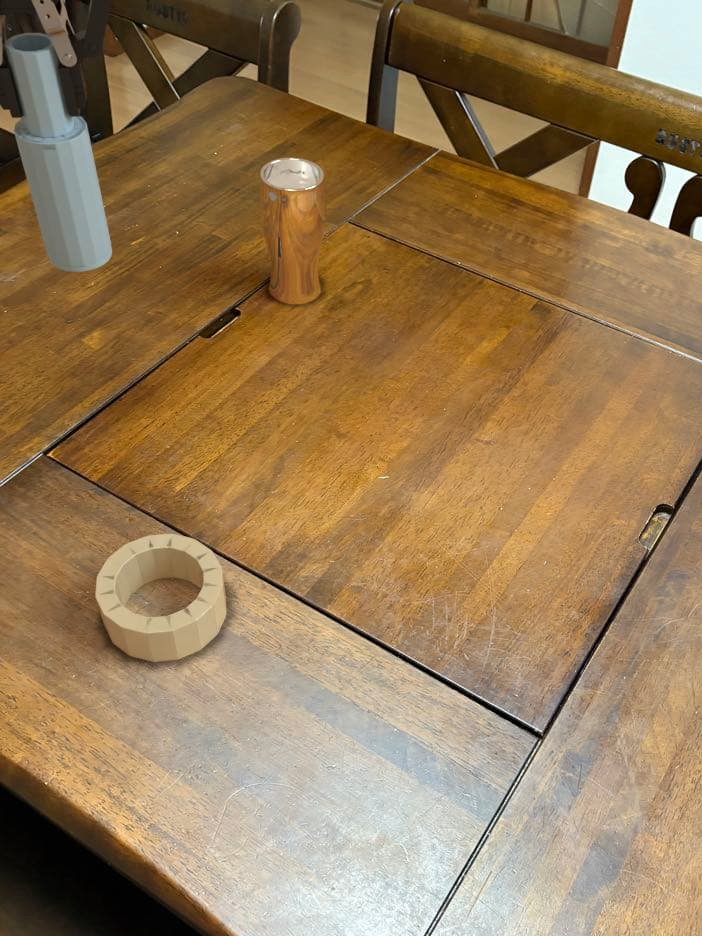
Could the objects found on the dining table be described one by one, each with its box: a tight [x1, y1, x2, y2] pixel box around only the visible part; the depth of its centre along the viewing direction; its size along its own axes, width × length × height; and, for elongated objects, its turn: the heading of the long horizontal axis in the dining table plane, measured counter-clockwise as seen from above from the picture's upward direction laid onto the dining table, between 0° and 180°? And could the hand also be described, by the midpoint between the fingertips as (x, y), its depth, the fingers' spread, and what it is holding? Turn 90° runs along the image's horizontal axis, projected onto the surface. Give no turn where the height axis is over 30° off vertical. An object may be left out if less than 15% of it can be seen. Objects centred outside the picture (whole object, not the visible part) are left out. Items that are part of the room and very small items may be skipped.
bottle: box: [5, 32, 113, 273], centre depth 71 cm, size 5×5×17 cm
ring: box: [94, 533, 227, 663], centre depth 75 cm, size 10×10×5 cm
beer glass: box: [259, 157, 327, 305], centre depth 100 cm, size 7×7×15 cm
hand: (46, 111), depth 68 cm, fingers closed on bottle, 3 cm apart
